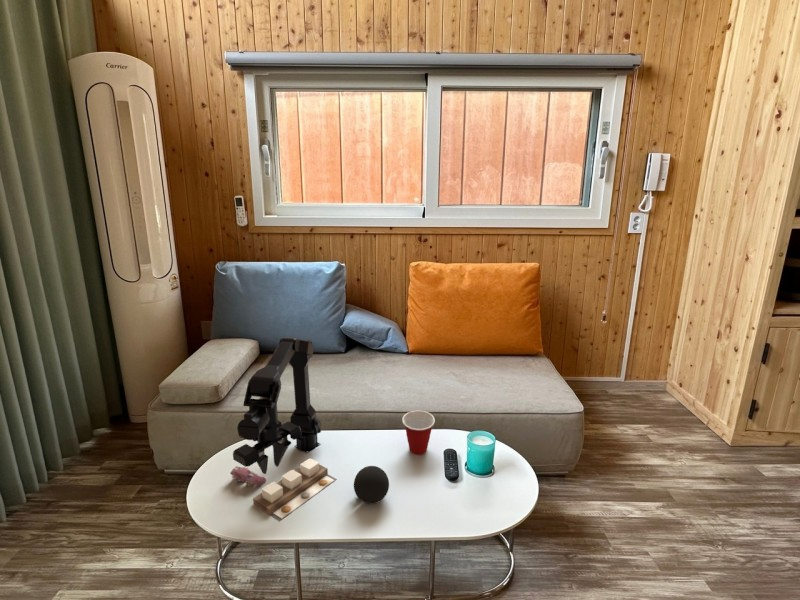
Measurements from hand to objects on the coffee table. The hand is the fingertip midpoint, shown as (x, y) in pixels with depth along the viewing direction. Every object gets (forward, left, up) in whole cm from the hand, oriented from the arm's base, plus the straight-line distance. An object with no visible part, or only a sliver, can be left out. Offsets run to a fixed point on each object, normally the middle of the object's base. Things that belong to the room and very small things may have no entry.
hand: (270, 469), depth 128 cm
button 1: (0, 0, -9) cm, 9 cm away
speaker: (-18, +21, -11) cm, 30 cm away
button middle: (-7, 0, -9) cm, 11 cm away
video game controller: (-1, -13, -11) cm, 17 cm away
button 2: (-14, 0, -9) cm, 17 cm away
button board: (-7, +2, -11) cm, 13 cm away
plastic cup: (-46, +18, -11) cm, 51 cm away
